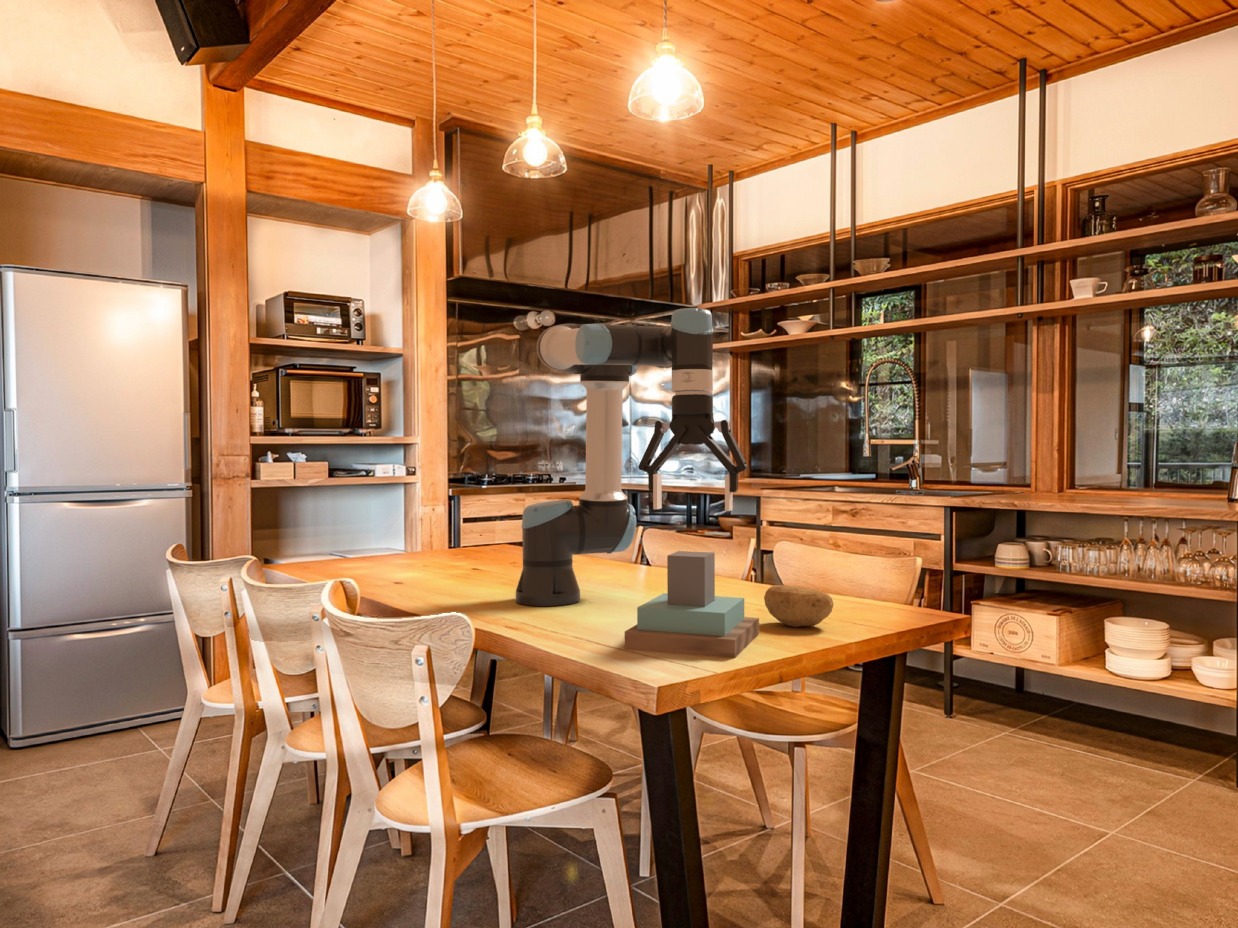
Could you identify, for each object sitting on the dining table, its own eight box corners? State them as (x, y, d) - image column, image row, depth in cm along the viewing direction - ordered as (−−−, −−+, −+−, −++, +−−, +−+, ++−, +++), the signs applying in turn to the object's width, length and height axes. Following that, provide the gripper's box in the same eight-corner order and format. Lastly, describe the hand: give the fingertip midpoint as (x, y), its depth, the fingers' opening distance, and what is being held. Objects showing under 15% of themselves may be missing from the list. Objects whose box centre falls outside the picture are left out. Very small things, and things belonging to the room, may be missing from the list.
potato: (821, 634, 166) (821, 592, 166) (755, 626, 175) (755, 586, 175) (842, 626, 174) (842, 586, 174) (778, 618, 182) (778, 580, 182)
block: (678, 598, 166) (678, 551, 166) (714, 600, 163) (714, 552, 163) (667, 604, 159) (667, 555, 159) (704, 607, 157) (704, 557, 157)
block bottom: (659, 631, 174) (659, 611, 174) (759, 638, 167) (759, 617, 167) (624, 653, 156) (624, 631, 156) (735, 663, 148) (735, 639, 148)
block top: (663, 613, 172) (663, 593, 172) (744, 618, 166) (744, 597, 166) (637, 629, 157) (637, 607, 157) (724, 636, 151) (724, 612, 151)
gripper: (621, 394, 161) (622, 509, 162) (755, 391, 153) (755, 512, 153) (635, 396, 168) (635, 506, 169) (763, 393, 160) (764, 509, 160)
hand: (692, 509), depth 161 cm, fingers open, 13 cm apart
